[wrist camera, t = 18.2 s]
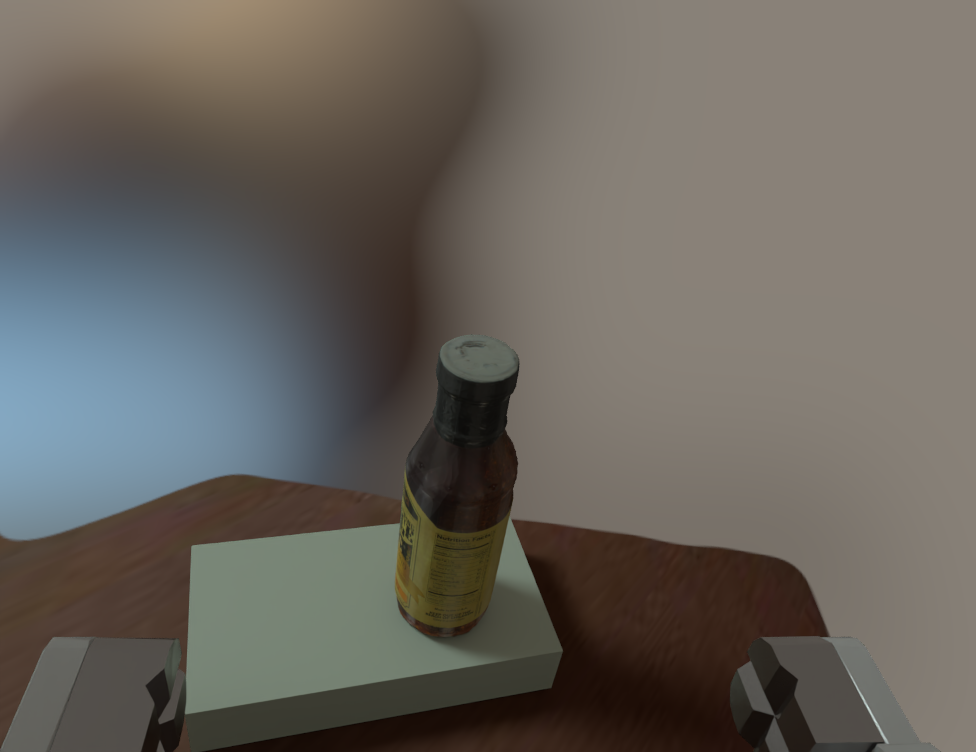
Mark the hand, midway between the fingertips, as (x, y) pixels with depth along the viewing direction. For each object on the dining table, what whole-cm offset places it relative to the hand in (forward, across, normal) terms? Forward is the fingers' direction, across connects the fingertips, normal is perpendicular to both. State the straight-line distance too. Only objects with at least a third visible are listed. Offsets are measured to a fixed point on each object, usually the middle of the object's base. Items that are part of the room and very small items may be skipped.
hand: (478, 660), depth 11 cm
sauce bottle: (+25, -4, +31) cm, 40 cm away
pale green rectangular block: (+25, +1, +35) cm, 43 cm away
